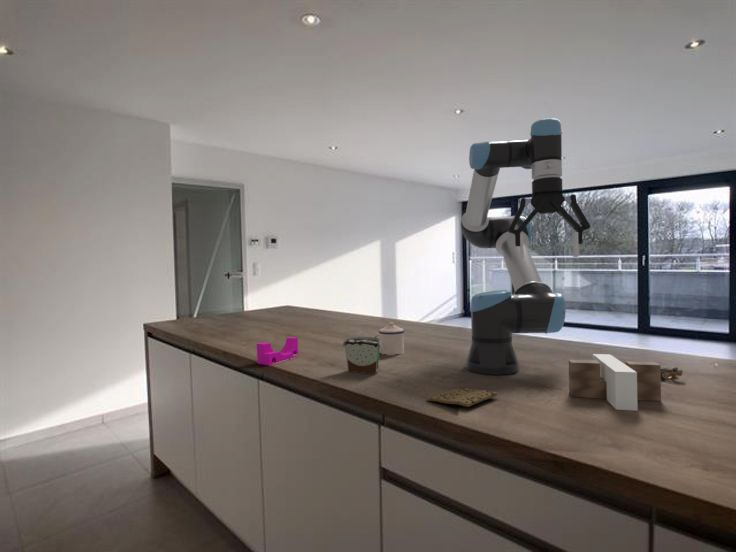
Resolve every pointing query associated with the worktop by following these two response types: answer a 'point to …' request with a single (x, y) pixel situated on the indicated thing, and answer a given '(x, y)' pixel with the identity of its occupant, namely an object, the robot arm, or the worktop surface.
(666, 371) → the frog figurine
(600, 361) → the white bridge
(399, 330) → the teacup with lid
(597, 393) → the walnut notched block
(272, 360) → the toy block
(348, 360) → the food container
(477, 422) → the worktop surface
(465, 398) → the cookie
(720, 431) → the worktop surface
